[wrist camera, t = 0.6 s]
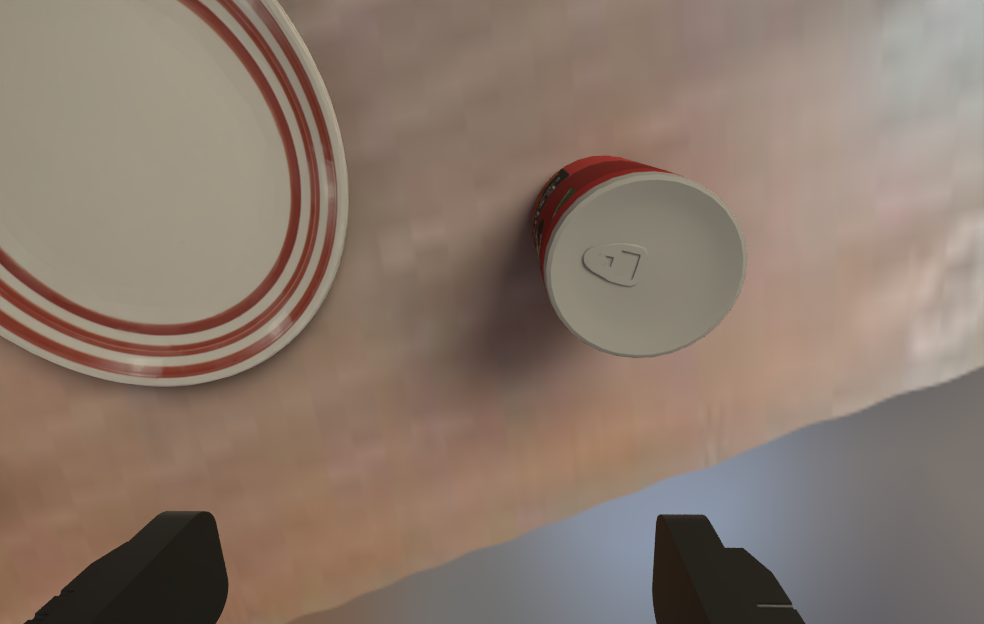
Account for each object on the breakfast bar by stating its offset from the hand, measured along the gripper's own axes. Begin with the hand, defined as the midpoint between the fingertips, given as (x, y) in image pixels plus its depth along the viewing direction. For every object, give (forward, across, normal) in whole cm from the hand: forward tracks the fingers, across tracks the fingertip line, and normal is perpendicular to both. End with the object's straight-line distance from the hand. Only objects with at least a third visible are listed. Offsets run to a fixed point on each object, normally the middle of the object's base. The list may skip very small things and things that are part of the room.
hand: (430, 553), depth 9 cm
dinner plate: (+22, +21, -8) cm, 32 cm away
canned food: (+23, -6, -4) cm, 24 cm away
